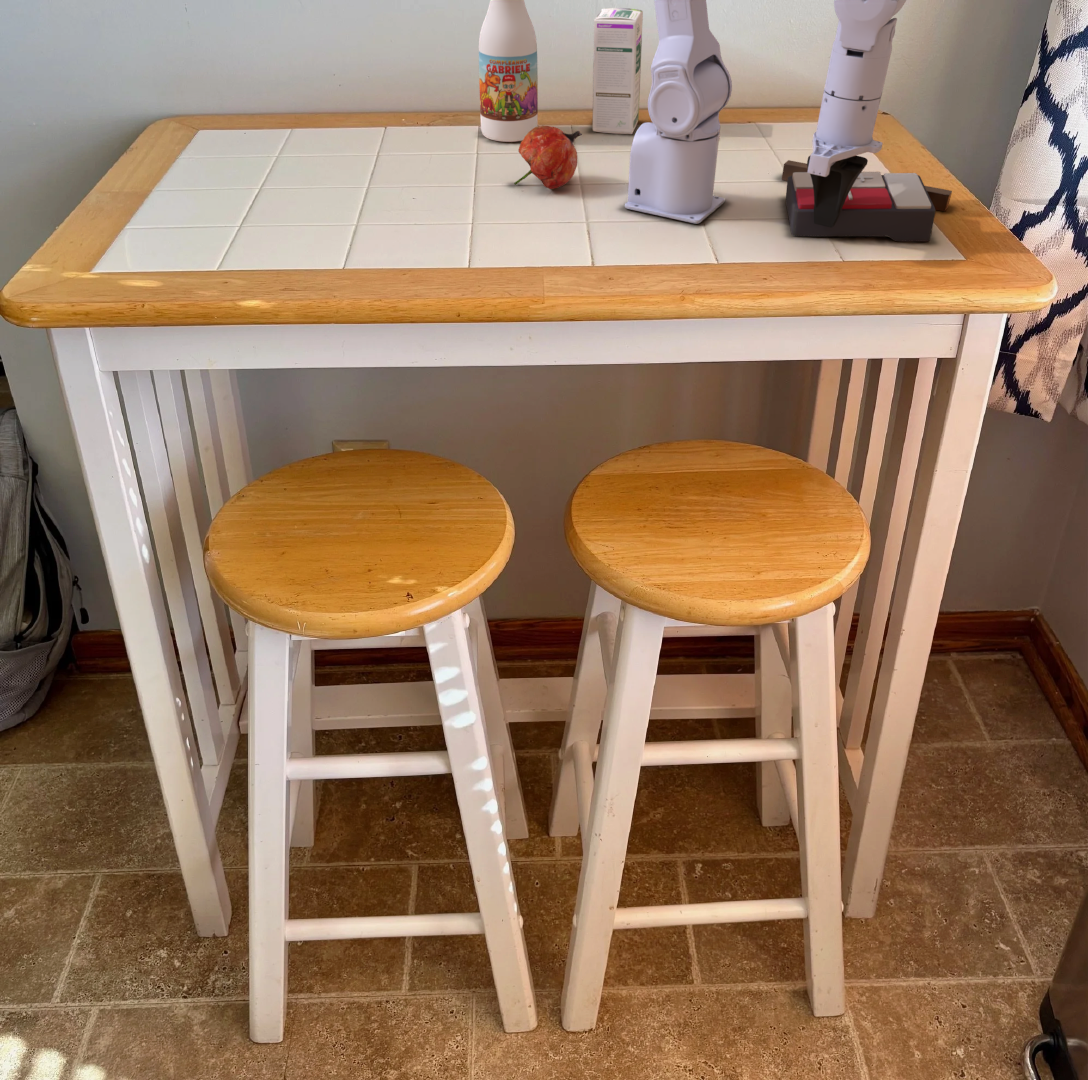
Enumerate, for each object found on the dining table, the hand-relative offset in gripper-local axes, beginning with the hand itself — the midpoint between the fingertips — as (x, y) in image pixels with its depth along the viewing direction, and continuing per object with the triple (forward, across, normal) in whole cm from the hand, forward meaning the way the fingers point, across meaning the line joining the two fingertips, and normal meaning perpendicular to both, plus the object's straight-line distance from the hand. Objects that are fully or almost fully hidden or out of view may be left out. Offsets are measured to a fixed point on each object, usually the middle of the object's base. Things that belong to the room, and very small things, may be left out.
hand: (825, 223), depth 114 cm
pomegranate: (+3, -2, +34) cm, 34 cm away
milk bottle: (+3, +12, +48) cm, 50 cm away
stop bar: (+1, +16, 0) cm, 16 cm away
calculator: (+2, +7, -1) cm, 7 cm away
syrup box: (+2, +22, +38) cm, 44 cm away
